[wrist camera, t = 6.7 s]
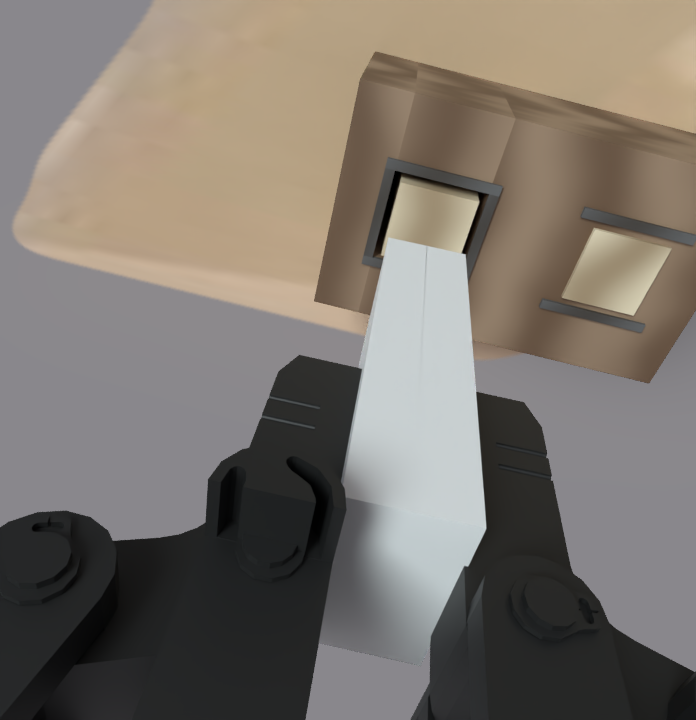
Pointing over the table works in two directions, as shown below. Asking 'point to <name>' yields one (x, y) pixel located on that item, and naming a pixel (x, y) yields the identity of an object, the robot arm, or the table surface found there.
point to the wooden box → (528, 214)
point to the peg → (430, 213)
